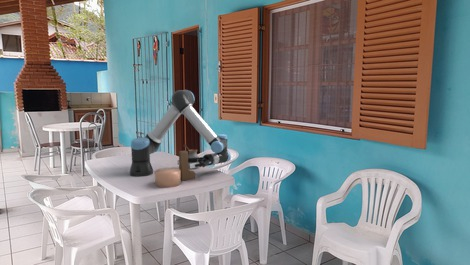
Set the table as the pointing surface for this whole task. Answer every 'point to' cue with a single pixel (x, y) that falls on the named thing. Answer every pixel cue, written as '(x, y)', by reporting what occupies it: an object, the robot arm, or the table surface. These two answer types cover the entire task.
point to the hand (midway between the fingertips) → (183, 164)
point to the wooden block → (185, 166)
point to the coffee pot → (192, 155)
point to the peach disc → (168, 177)
